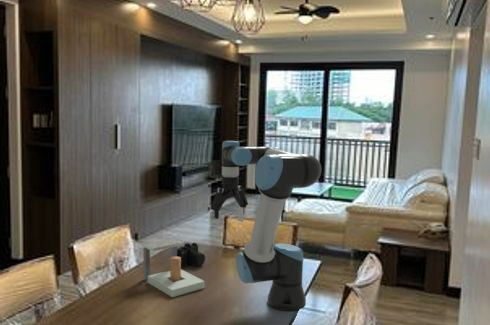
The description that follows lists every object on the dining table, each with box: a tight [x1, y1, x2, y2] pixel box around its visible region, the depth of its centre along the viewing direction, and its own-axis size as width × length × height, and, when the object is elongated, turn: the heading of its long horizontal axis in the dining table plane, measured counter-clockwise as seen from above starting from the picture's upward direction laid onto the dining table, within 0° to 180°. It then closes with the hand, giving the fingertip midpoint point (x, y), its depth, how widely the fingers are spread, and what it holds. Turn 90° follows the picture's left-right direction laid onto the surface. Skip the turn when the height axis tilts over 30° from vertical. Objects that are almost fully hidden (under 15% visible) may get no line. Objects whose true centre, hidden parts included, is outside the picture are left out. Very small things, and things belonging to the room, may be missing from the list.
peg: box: [169, 256, 182, 282], centre depth 192 cm, size 4×4×12 cm
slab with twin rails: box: [142, 238, 185, 282], centre depth 199 cm, size 8×16×16 cm, turn 131°
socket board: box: [147, 268, 206, 298], centre depth 192 cm, size 20×16×3 cm
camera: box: [177, 242, 206, 268], centre depth 218 cm, size 14×11×10 cm
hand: (229, 223), depth 198 cm, fingers open, 13 cm apart
